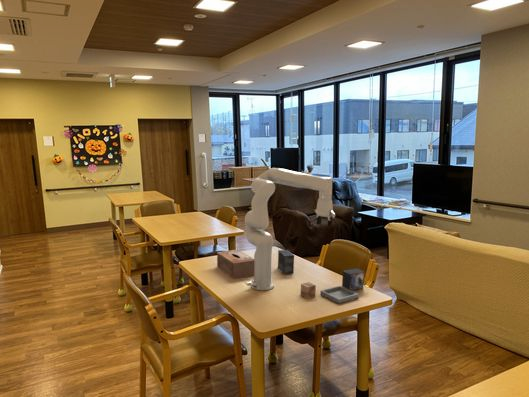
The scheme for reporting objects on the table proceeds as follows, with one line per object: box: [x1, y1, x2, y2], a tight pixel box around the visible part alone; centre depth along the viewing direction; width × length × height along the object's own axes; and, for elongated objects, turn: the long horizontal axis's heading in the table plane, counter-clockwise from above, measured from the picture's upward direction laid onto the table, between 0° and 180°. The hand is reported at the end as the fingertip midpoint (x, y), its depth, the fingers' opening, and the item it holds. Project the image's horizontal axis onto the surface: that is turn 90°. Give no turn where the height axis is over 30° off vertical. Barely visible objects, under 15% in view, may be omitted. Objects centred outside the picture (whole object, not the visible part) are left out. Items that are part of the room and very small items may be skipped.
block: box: [300, 281, 317, 299], centre depth 204 cm, size 6×6×6 cm
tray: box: [319, 285, 359, 305], centre depth 203 cm, size 14×14×2 cm
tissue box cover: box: [216, 249, 254, 280], centre depth 241 cm, size 26×14×10 cm, turn 30°
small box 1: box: [277, 249, 295, 275], centre depth 242 cm, size 13×7×12 cm, turn 14°
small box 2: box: [341, 268, 365, 292], centre depth 213 cm, size 11×6×10 cm, turn 117°
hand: (324, 225), depth 234 cm, fingers open, 9 cm apart
